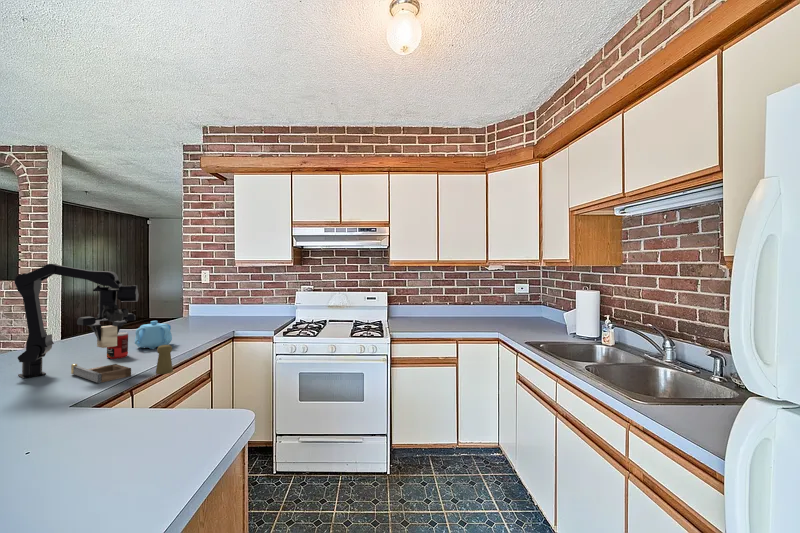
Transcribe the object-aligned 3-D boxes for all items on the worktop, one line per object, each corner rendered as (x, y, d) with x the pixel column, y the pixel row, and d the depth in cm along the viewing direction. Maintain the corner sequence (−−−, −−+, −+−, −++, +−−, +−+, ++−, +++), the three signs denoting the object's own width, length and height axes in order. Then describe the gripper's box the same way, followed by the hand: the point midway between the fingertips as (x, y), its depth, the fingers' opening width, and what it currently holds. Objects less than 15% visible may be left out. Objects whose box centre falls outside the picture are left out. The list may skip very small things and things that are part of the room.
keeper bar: (70, 373, 153) (70, 364, 152) (75, 372, 154) (76, 363, 154) (96, 382, 142) (96, 373, 142) (102, 381, 143) (102, 372, 143)
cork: (169, 369, 163) (169, 343, 163) (175, 372, 159) (175, 345, 159) (153, 372, 159) (153, 345, 159) (158, 375, 155) (159, 347, 155)
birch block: (97, 346, 159) (97, 326, 159) (110, 344, 164) (111, 325, 164) (103, 347, 157) (103, 328, 157) (117, 345, 161) (117, 326, 161)
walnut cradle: (86, 377, 150) (86, 369, 150) (115, 371, 159) (115, 363, 159) (101, 382, 144) (101, 374, 144) (131, 375, 153) (131, 368, 153)
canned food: (104, 356, 181) (105, 333, 181) (125, 354, 187) (125, 331, 187) (108, 359, 176) (109, 335, 176) (129, 357, 182) (130, 333, 182)
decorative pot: (167, 349, 199) (168, 323, 199) (130, 351, 194) (131, 323, 194) (174, 343, 214) (175, 318, 214) (140, 344, 209) (141, 319, 209)
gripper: (90, 305, 148) (89, 346, 148) (142, 301, 164) (142, 338, 164) (76, 303, 154) (76, 342, 154) (128, 299, 170) (128, 335, 170)
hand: (107, 339), depth 160 cm, fingers closed on birch block, 5 cm apart
